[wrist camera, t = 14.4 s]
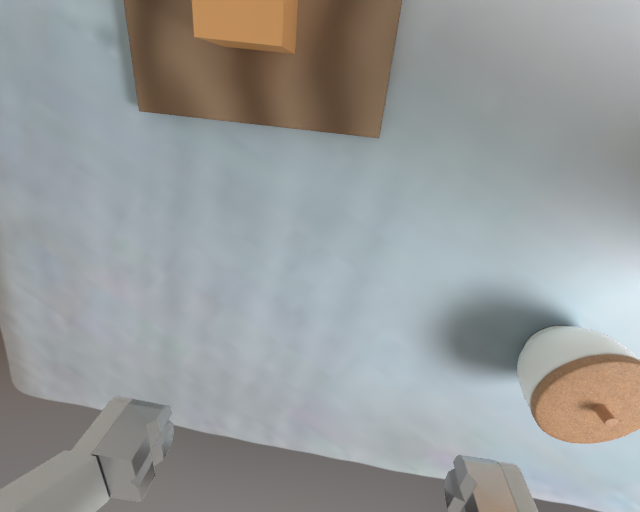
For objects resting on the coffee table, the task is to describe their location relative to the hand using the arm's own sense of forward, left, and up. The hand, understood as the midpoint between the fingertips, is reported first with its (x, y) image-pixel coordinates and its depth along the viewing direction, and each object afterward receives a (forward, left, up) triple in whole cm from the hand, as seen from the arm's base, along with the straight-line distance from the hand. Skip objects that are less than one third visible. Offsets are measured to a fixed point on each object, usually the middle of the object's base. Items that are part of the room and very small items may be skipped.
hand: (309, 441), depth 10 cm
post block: (+7, -14, -25) cm, 29 cm away
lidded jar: (-26, +14, -25) cm, 39 cm away
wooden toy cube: (+7, -13, -23) cm, 28 cm away
